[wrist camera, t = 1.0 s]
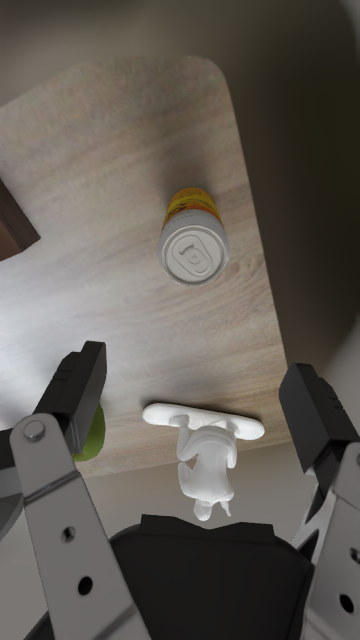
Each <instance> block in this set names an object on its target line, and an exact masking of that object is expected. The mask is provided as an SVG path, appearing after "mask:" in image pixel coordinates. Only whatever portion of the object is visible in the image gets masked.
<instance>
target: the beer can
mask: <svg viewBox="0 0 360 640" xmlns="http://www.w3.org/2000/svg"><path fill="white" fill-rule="evenodd" d="M229 253H230V247H229V241H228V238H227V235H226V232H225V230H224V227H223V224H222V221H221V219H220V216H219V213H218V211H217V208H216V205H215V202H214V200H213V199H212V197H211V196H210V195H209V194H208V193H207V192H206V191H204V190H202V189H199V188H195V187H190V188H185V189H182V190H180V191H179V192H177V193H176V194H175V195H174V196H173V197H172V199H171V200H170V203H169V205H168V209H167V212H166V216H165V220H164V224H163V228H162V232H161V235H160V239H159V243H158V259H159V262H160V265H161V267H162V269H163V270H164V271H165V273H166V274H167V275H168V276H169V277H170V278H171V279H172V280H173V281H175V282H176V283H178V284H181V285H183V286H188V287H199V286H203V285H206V284H208V283H210V282H212V281H213V280H215V279H216V278H217V277H218V276H219V274H220V273H221V272H222V271H223V269H224V268H225V266H226V264H227V262H228V259H229Z"/></svg>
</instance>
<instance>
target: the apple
mask: <svg viewBox="0 0 360 640" xmlns="http://www.w3.org/2000/svg"><path fill="white" fill-rule="evenodd" d="M105 430H106V429H105V420H104V413H103V409H102V407H101V405H100V404H99V402H98V405H97V408H96V411H95V414H94V417H93V420H92V423H91V426H90V429H89V432H88V435H87V438H86V441H85V444H84V447H83V450H82V453H81V454H76V453H72V458H73V461H87V460H89V459H91V458H93V457H95V456H97V455H98V453H99V452H100V450H101V449H102V447H103V444H104V438H105Z"/></svg>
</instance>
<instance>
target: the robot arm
mask: <svg viewBox="0 0 360 640" xmlns="http://www.w3.org/2000/svg"><path fill="white" fill-rule="evenodd" d="M106 374H107V360H106V344H105V342H96V341H86V342H85V344H84V346H83V348H82V350H81V352H71V353H70V354H69V355H67V356H66V357H65V358H64V359H62V361H61V363H60V365H59V367H58V368H57V372H55V374H54V376H53V378H52V380H51V381H50V383H49V385H48V387H47V388H46V390H45V392H44V394H43V396H42V398H41V399H40V401H39V403H38V405H37V407H36V409H35V410H34V412H33V413H32V415H29V416H27V417H25V418H24V419H22V420H21V421H19V422H18V423H17V424H16V425H15V427H13V428H10V429H7V430H2V431H0V498H2V497H6V496H10V495H14V494H18V493H23V498H24V502H23V505H24V510H25V514H26V519H27V523H28V527H29V532H30V536H31V540H32V544H33V548H34V552H35V556H36V561H37V565H38V569H39V573H40V577H41V582H42V586H43V590H44V594H45V598H46V602H47V607H48V611H47V612H46V613H45V614H44V615H43V617H42V618H41V619H40V620H39V621H38V623H37V624H36V625H35V626H34V627H33V629H32V630H31V631H30V632H29V633H28V635H27V636H26V637H25V638H24V639H23V640H360V437H359V435H358V434H357V431H356V430H355V428H354V426H353V424H352V422H351V420H350V419H349V417H348V415H347V413H346V411H345V410H344V409H343V406H342V404H341V402H340V401H339V400H338V397H337V395H336V393H335V392H334V390H333V388H332V387H331V386H330V385H329V384H328V383H327V382H326V381H325V380H324V379H323V378H320V377H318V376H317V374H316V372H315V370H314V368H313V366H312V365H310V364H302V363H291V364H290V366H289V368H288V370H287V372H286V374H285V377H284V379H283V381H282V383H281V385H280V388H279V400H280V403H281V406H282V409H283V412H284V415H285V418H286V421H287V424H288V427H289V430H290V433H291V436H292V439H293V442H294V445H295V448H296V451H297V454H298V457H299V460H300V463H301V466H302V469H303V472H304V474H305V475H316V477H317V480H318V483H317V484H316V485H315V488H314V490H313V494H312V496H311V499H310V501H309V504H308V507H307V509H306V512H305V515H304V518H303V520H302V523H301V526H300V528H299V530H298V532H297V534H296V536H295V537H294V539H293V541H292V543H291V544H289V543H288V542H286V541H284V540H283V539H281V538H279V537H277V536H275V535H274V530H273V525H271V524H260V523H247V522H239V523H235V524H231V525H227V526H223V527H219V528H215V529H210V530H209V529H204V528H202V527H199V526H196V525H194V524H192V523H189V522H186V521H184V520H181V519H179V518H176V517H171V516H158V515H146V514H142V518H141V523H140V524H137V525H133V526H130V527H128V528H125V529H123V530H122V531H120V532H118V533H117V534H115V535H114V536H112V537H111V538H110V539H109V540H108V538H107V535H106V533H105V530H104V528H103V526H102V523H101V521H100V518H99V516H98V513H97V511H96V509H95V506H94V504H93V501H92V499H91V496H90V494H89V492H88V489H87V487H86V484H85V482H84V480H83V477H82V475H81V473H80V472H78V470H77V468H76V466H75V463H74V461H73V458H72V453H76V454H81V453H82V450H83V447H84V444H85V441H86V438H87V435H88V432H89V429H90V426H91V423H92V420H93V417H94V414H95V411H96V408H97V405H98V402H99V399H100V396H101V393H102V390H103V387H104V384H105V380H106Z"/></svg>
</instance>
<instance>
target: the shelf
mask: <svg viewBox="0 0 360 640" xmlns="http://www.w3.org/2000/svg"><path fill="white" fill-rule="evenodd" d="M39 239H40V237H39V235H38V234H37V232H36V231H35V229H34V228H33V226H32V225H31V223H30V222H29V220H28V219H27V217H26V216H25V215H24V213H23V212H22V210H21V209H20V207H19V206H18V204H17V203H16V201H15V200H14V198H13V197H12V195H11V194H10V192H9V191H8V190H7V188H6V187H5V185H4V184H3V182H2V181H1V179H0V261H3V260H5V259H7V258H10V257H12V256H14V255H16V254H19V253H21V252H23V251H24V250H26V249H27V248H28V247H30V246H31V245H32V244H34V243H35V242H37V241H38V240H39Z"/></svg>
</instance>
